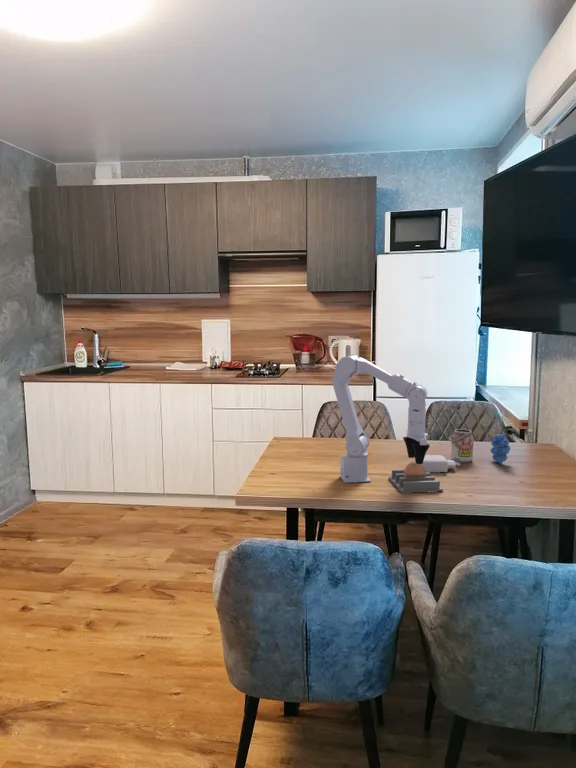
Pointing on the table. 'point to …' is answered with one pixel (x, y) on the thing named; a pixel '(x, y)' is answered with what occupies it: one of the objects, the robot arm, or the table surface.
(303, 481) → the table surface
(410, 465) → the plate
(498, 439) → the grapes
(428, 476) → the dish rack
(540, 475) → the table surface
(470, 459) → the beverage can
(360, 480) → the robot arm
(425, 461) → the charger
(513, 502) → the table surface
